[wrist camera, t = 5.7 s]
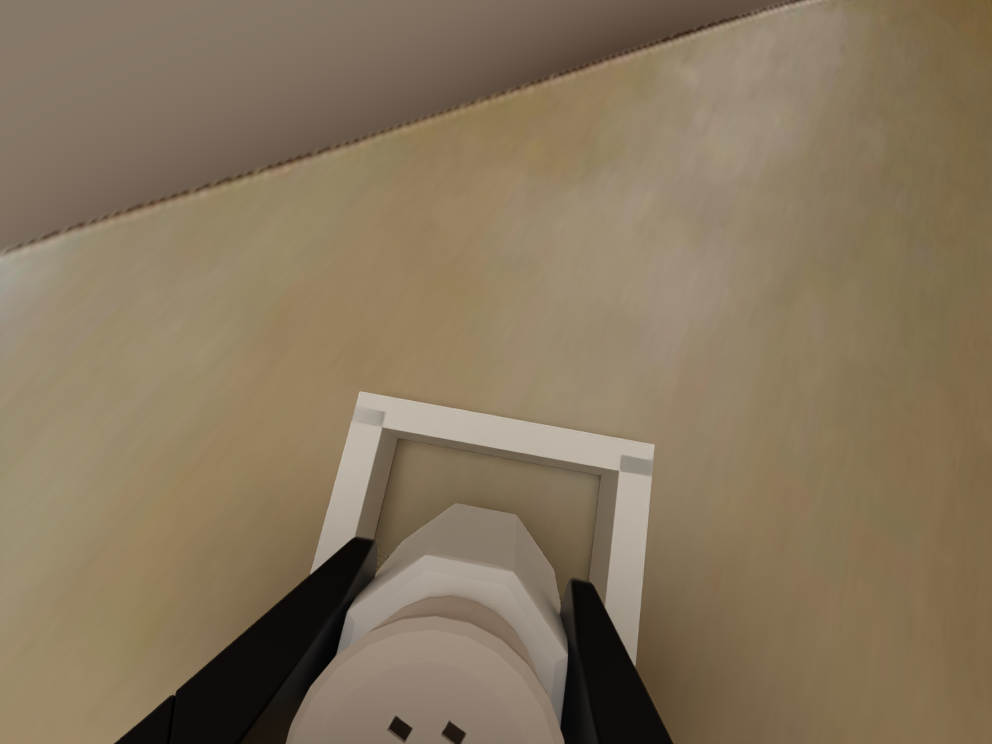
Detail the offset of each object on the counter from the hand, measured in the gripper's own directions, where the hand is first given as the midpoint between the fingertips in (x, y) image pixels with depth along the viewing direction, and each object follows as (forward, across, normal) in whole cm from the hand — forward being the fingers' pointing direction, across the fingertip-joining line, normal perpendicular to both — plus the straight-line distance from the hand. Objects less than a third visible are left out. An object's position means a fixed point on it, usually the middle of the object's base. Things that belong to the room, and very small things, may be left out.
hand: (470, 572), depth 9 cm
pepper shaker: (+4, 0, +6) cm, 7 cm away
